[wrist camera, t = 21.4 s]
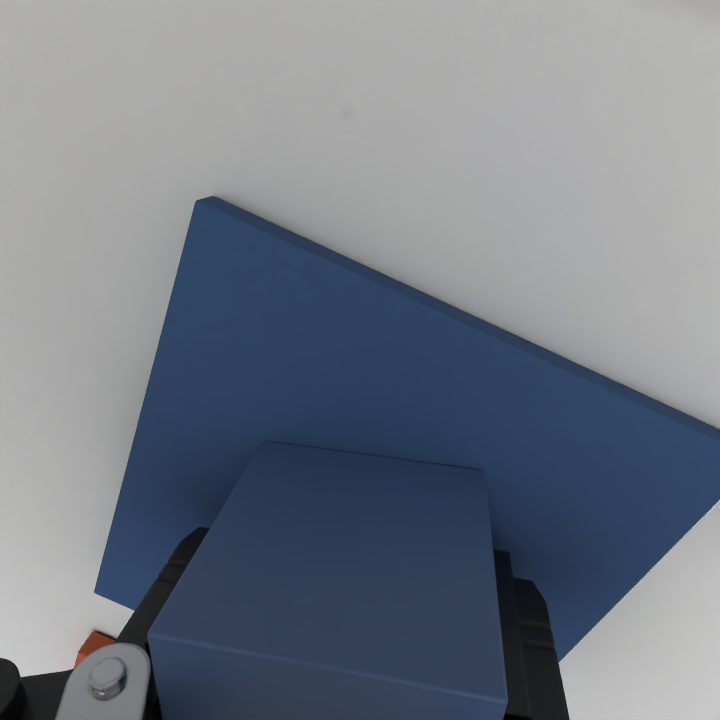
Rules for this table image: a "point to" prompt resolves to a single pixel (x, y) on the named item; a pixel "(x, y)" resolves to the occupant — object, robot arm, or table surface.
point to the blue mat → (397, 418)
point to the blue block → (337, 596)
